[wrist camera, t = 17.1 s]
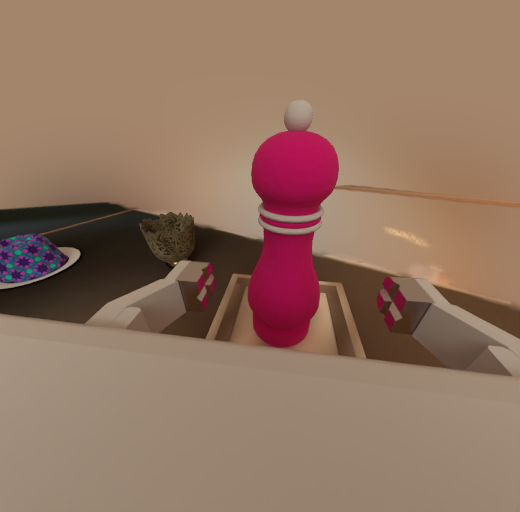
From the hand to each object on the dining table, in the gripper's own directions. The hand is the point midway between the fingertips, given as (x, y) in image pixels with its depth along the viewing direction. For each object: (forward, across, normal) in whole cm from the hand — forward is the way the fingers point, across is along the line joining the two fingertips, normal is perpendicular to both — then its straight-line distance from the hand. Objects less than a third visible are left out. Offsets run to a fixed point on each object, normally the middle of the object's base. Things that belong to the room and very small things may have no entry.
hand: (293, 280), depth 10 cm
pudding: (+14, +41, +13) cm, 45 cm away
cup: (+18, +18, +13) cm, 29 cm away
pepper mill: (+8, 0, +12) cm, 15 cm away
